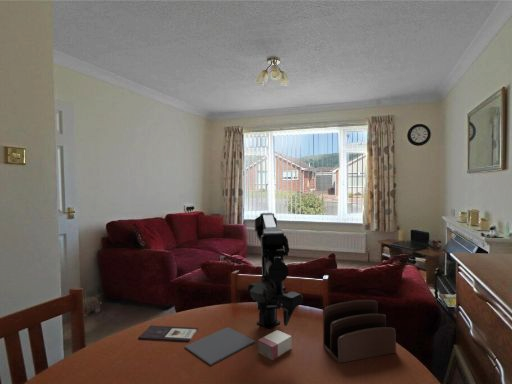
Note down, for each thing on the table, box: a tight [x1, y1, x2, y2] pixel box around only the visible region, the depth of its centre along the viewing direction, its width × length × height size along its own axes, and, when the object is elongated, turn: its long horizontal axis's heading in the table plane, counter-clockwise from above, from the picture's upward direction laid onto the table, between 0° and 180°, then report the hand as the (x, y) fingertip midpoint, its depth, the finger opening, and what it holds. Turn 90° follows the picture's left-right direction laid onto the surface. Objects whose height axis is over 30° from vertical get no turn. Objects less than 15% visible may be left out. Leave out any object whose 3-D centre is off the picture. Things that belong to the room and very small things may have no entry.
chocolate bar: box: [137, 325, 199, 343], centre depth 108 cm, size 9×1×18 cm
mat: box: [184, 326, 256, 367], centre depth 100 cm, size 18×14×1 cm
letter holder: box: [322, 299, 397, 364], centre depth 96 cm, size 10×20×14 cm, turn 105°
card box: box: [257, 329, 292, 361], centre depth 97 cm, size 9×6×4 cm, turn 135°
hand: (274, 320), depth 97 cm, fingers open, 9 cm apart
